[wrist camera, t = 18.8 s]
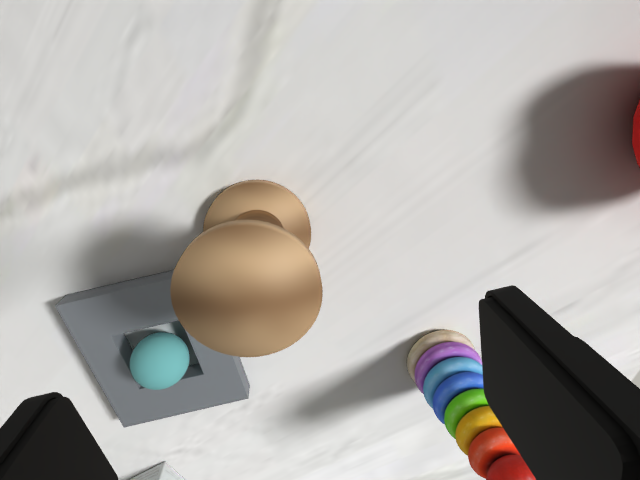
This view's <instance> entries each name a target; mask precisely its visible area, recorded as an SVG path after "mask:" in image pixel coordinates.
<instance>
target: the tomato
mask: <svg viewBox="0 0 640 480" xmlns="http://www.w3.org/2000/svg"><path fill="white" fill-rule="evenodd" d="M632 144H633V149H634V153H635V157H636V161H637V164H638V165H639V167H640V100H639V103H638V106H637V108H636V111H635V114H634V116H633V133H632Z"/></svg>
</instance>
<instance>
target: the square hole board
mask: <svg viewBox="0 0 640 480" xmlns="http://www.w3.org/2000/svg"><path fill="white" fill-rule="evenodd" d="M173 272H174V270H172V271H168V272H163V273H159V274H155V275H151V276H146V277H142V278H138V279H133V280H129V281H125V282H120V283H116V284H112V285H107V286H103V287H99V288H94V289H90V290H86V291H82V292H77V293H73V294H69V295H66V296H65V297H63V298H62V299H61V300H60V301H59V302H58V303H57V304H56V305H55V307H56V309H57V311H58V312H59V314H60V316H61V318H62V319H63V321H64V323H65V325H66V326H67V328H68V330H69V332H70V334H71V335H72V337H73V339H74V341H75V342H76V344H77V346H78V348H79V349H80V351H81V353H82V355H83V356H84V358H85V360H86V362H87V363H88V365H89V367H90V369H91V370H92V372H93V374H94V376H95V378H96V379H97V381H98V383H99V385H100V386H101V388H102V390H103V392H104V393H105V395H106V397H107V399H108V400H109V402H110V404H111V406H112V407H113V409H114V411H115V413H116V414H117V416H118V418H119V420H120V422H121V423H122V425H123V427H128V426H132V425H137V424H141V423H145V422H149V421H154V420H158V419H162V418H167V417H171V416H175V415H179V414H184V413H188V412H192V411H197V410H201V409H205V408H209V407H214V406H218V405H222V404H227V403H231V402H235V401H239V400H244V399H248V397H249V388H250V385H249V382H248V379H247V376H246V374H245V371H244V368H243V366H242V363H241V360H240V357H238V356H231V355H227V354H223V353H220V352H217V351H214V350H212V349H210V348H208V347H206V346H204V345H203V344H201V343H200V342H198V341H197V340H196V339H194V338H193V337H192V336H191V335H190V334H189V333H188V332H187V331H186V330H185V331H186V333H187V335H188V338H189V340H190V342H191V345H192V347H193V350H194V352H195V354H196V357H197V359H198V361H199V364H195V365H191V366H188V368H187V370H186V372H185V374H184V375H183V377H182V378H181V379H180V380H179V381H178V382H177V383H176V384H174V385H172V386H170V387H168V388H166V389H161V390H152V389H147V388H145V387H143V386H141V385H140V384H138V383H137V382H136V381H135V379H134V378H133V376H132V374H131V370H130V358H131V355H132V352H133V351H132V349H131V347H130V345H129V343H128V341H127V339H126V337H125V335H124V333H127V332H131V331H135V330H140V329H144V328H148V327H153V326H157V325H161V324H165V323H170V322H174V321H178V318H177V316H176V314H175V312H174V309H173V306H172V301H171V292H170V287H171V279H172V275H173Z"/></svg>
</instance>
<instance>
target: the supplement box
mask: <svg viewBox="0 0 640 480" xmlns="http://www.w3.org/2000/svg"><path fill="white" fill-rule="evenodd" d="M130 480H185V479H184V478H183V477H182V476H181V475H180V474H179V473H177V472H176V471H175V470H174V469H173V468H172V467H171V466H170V465H169V464H168V463H167V462H163V463H161V464H159V465H157V466H155V467H153V468H151V469H149V470H147V471H145V472H143V473H141V474H139V475H138V476H136V477H134V478H132V479H130Z"/></svg>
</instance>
